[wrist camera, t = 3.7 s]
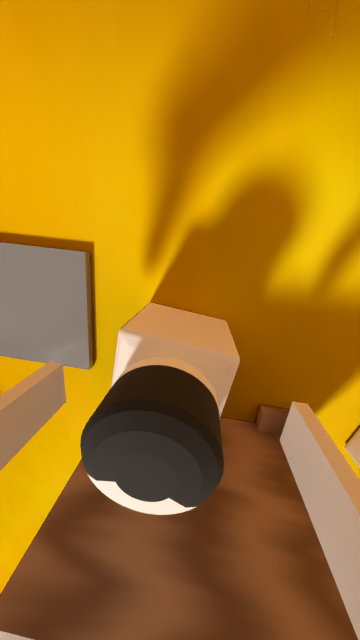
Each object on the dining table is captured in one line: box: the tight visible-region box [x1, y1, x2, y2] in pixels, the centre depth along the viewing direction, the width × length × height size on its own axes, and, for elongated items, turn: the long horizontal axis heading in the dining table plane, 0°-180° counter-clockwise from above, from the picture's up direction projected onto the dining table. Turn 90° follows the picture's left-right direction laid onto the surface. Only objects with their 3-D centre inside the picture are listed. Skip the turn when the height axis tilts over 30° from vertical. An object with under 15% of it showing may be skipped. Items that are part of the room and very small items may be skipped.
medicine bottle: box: [80, 303, 240, 515], centre depth 13 cm, size 7×7×12 cm
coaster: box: [0, 242, 93, 370], centre depth 19 cm, size 11×11×1 cm
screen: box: [0, 405, 358, 640], centre depth 15 cm, size 18×6×14 cm, turn 84°
